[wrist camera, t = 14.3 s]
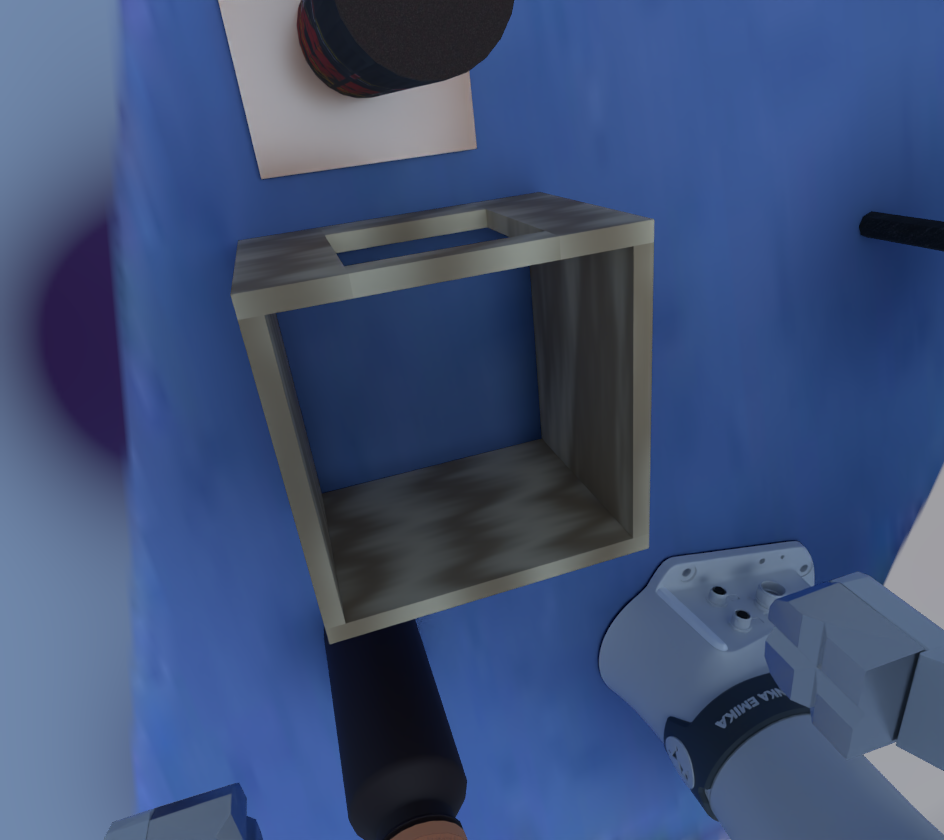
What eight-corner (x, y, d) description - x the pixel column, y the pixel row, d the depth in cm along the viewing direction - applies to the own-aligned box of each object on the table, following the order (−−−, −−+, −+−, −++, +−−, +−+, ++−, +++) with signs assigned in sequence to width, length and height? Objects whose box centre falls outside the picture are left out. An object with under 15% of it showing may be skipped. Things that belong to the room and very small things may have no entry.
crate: (539, 192, 40) (654, 219, 28) (555, 447, 48) (648, 547, 36) (238, 240, 36) (230, 294, 24) (310, 509, 44) (329, 644, 32)
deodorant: (294, -47, 31) (324, -174, 18) (416, -28, 32) (526, -131, 19) (298, 92, 33) (327, 72, 20) (412, 103, 35) (508, 90, 22)
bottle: (407, 576, 48) (492, 830, 31) (417, 643, 51) (500, 910, 34) (315, 599, 47) (351, 881, 29) (331, 667, 50) (372, 959, 32)
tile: (446, -113, 32) (450, -118, 31) (472, 148, 37) (476, 148, 37) (194, -100, 29) (192, -106, 29) (261, 177, 35) (261, 179, 34)
